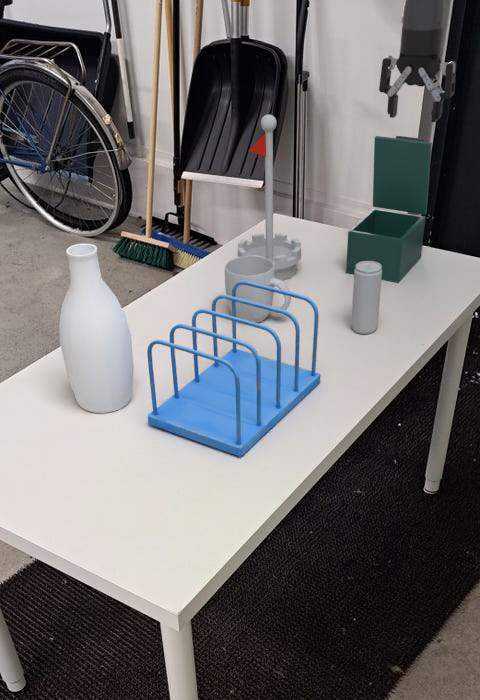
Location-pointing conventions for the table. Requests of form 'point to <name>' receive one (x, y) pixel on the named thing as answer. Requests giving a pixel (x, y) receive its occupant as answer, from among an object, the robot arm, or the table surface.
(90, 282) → the bottle
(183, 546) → the table surface
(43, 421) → the table surface
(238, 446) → the file sorter
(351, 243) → the box
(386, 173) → the lid
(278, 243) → the flag stand
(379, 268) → the beverage can
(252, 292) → the mug
